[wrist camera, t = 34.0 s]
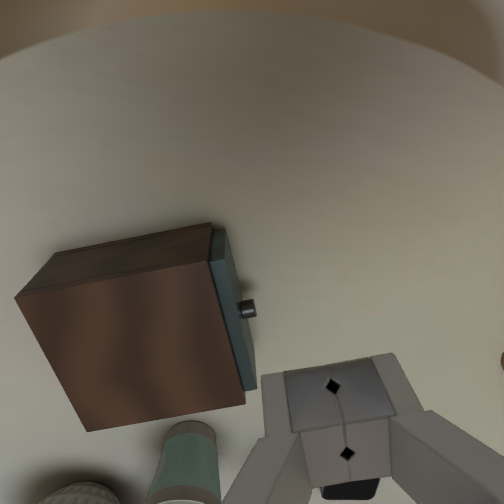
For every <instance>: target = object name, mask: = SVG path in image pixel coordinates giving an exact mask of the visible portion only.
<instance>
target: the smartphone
mask: <svg viewBox="0 0 504 504" xmlns="http://www.w3.org/2000/svg"><path fill="white" fill-rule="evenodd" d="M379 481H380V478H374V479H366V480H358V481H351V482H345V483H340V484H335V485H329V486H324V487H321V489H320V491H321V496H322V498H324V499H326V500H370V499H372V498H373V497H374V496H375V494H376V491H377V488H378V485H379Z"/></svg>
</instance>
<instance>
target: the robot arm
mask: <svg viewBox="0 0 504 504" xmlns="http://www.w3.org/2000/svg"><path fill="white" fill-rule="evenodd" d="M261 389H262V402H263V415H264V428H265V438H259V439H258V440H257V442H256V444H255V446H254V447H253V449H252V451H251V453H250V454H249V456H248V458H247V459H246V461H245V463H244V465H243V466H242V468H241V470H240V472H239V473H238V475H237V477H236V479H235V480H234V482H233V484H232V486H231V487H230V489H229V491H228V492H227V494H226V496H225V498H224V499H223V501H222V503H221V504H308V503H309V500H310V497H311V494H312V489H313V488H319V487H324V486H329V485H335V484H340V483H345V482H351V481H358V480H366V479H374V478H382V477H390V476H392V479H393V480H394V481H395V482H396V483H397V484H398V485H399V486H400V487H401V488H402V489H403V490H404V491H405V492H406V493H407V494H408V495H409V496H410V497H411V498H412V499H413V500H414V501H415V502H416V503H417V504H504V457H503V456H502V455H500V454H499V453H497V452H496V451H494V450H493V449H491V448H489V447H488V446H486V445H485V444H483V443H482V442H480V441H479V440H477V439H476V438H474V437H472V436H471V435H469V434H468V433H466V432H465V431H463V430H462V429H460V428H459V427H457V426H455V425H454V424H452V423H451V422H449V421H448V420H446V419H445V418H443V417H442V416H440V415H438V414H437V413H435V412H434V411H432V410H429V411H424V409H423V407H422V406H421V404H420V402H419V400H418V398H417V396H416V394H415V392H414V390H413V388H412V387H411V385H410V383H409V381H408V379H407V377H406V375H405V373H404V371H403V369H402V368H401V366H400V364H399V362H398V360H397V358H396V356H395V355H394V354H393V353H386V354H381V355H376V356H370V357H365V358H360V359H354V360H349V361H343V362H338V363H332V364H327V365H323V366H316V367H309V368H303V369H296V370H289V371H284V373H283V372H279V373H272V374H265V375H262V376H261Z"/></svg>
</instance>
